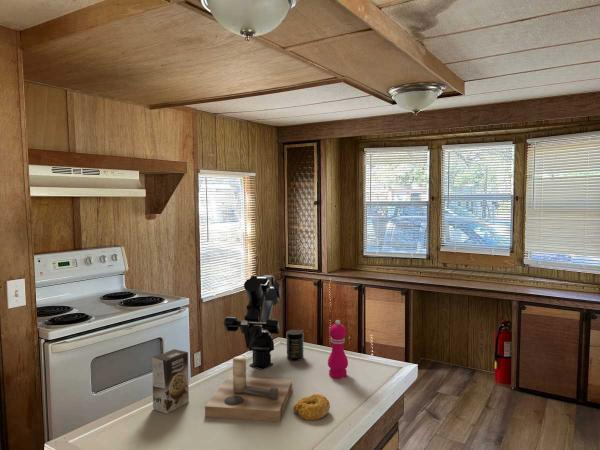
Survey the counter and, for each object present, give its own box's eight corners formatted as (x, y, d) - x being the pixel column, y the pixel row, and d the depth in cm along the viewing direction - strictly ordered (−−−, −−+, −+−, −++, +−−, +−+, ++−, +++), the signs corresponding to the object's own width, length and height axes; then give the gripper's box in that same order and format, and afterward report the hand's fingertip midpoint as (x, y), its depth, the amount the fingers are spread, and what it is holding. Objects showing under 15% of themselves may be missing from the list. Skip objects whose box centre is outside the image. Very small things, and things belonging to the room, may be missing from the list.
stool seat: (228, 385, 154) (228, 375, 154) (292, 388, 151) (292, 379, 150) (205, 416, 132) (204, 405, 132) (279, 421, 129) (279, 410, 129)
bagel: (301, 403, 141) (301, 388, 140) (334, 409, 136) (334, 394, 136) (287, 417, 132) (287, 401, 131) (322, 425, 127) (322, 408, 127)
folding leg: (237, 387, 144) (237, 355, 143) (280, 395, 138) (280, 362, 137) (230, 392, 140) (230, 359, 140) (274, 401, 134) (274, 366, 134)
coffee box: (167, 414, 133) (165, 360, 132) (152, 409, 137) (150, 356, 136) (189, 402, 141) (188, 351, 140) (175, 397, 145) (174, 348, 144)
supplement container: (306, 359, 177) (305, 333, 177) (289, 362, 175) (289, 335, 174) (300, 354, 184) (300, 328, 183) (284, 356, 181) (284, 330, 181)
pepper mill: (348, 371, 165) (348, 317, 164) (348, 379, 158) (348, 323, 157) (328, 370, 166) (328, 317, 165) (327, 378, 159) (327, 322, 157)
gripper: (283, 320, 166) (278, 360, 155) (234, 317, 168) (225, 357, 158) (280, 303, 157) (274, 345, 147) (228, 301, 160) (218, 342, 149)
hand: (247, 348), depth 151 cm, fingers closed
